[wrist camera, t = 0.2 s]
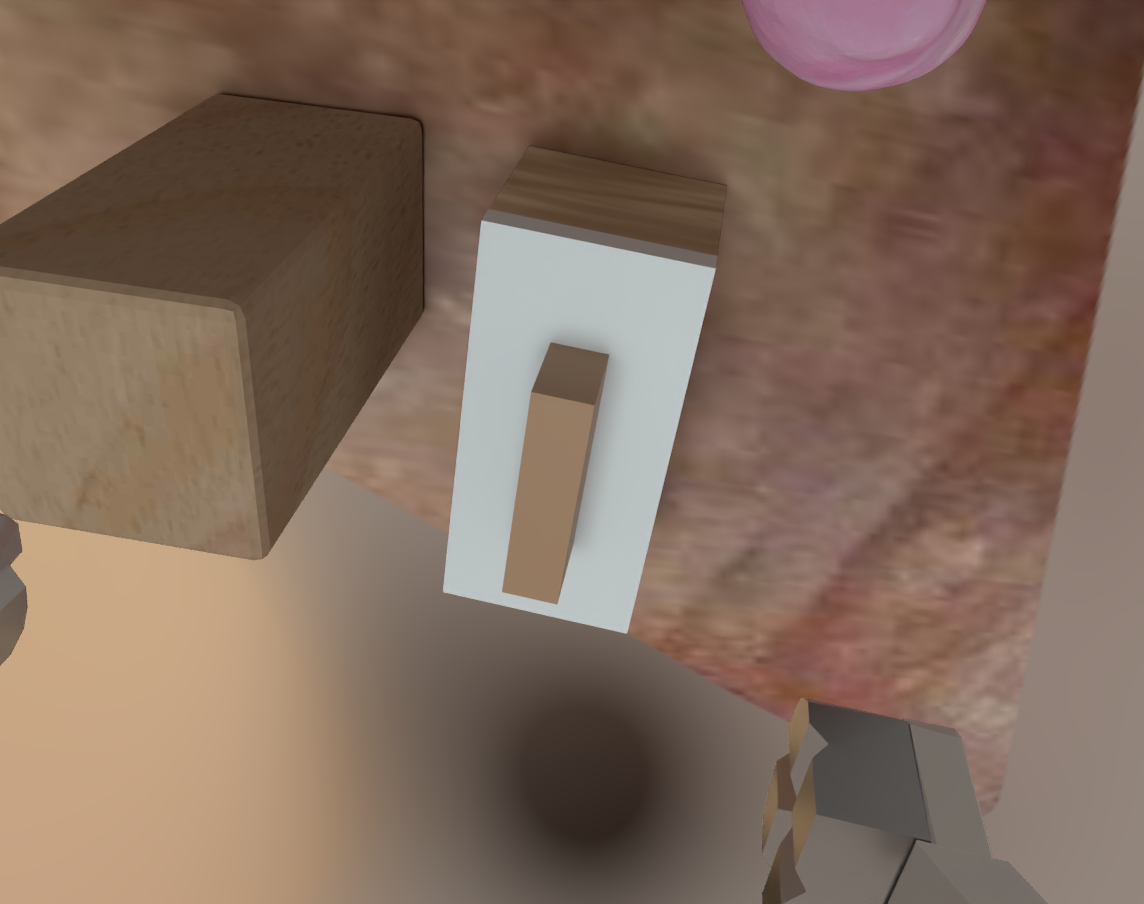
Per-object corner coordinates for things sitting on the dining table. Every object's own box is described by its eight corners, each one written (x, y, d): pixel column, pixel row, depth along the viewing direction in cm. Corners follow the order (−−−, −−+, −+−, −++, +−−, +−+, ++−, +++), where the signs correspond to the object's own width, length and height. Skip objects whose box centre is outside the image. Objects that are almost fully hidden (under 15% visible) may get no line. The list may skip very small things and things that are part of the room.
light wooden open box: (529, 145, 48) (488, 208, 41) (726, 185, 47) (717, 255, 41) (487, 482, 58) (449, 575, 52) (647, 518, 58) (629, 616, 51)
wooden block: (425, 116, 48) (236, 309, 31) (425, 316, 53) (265, 568, 37) (213, 89, 49) (-78, 262, 32) (235, 288, 54) (-3, 522, 38)
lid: (494, 200, 42) (454, 262, 37) (718, 246, 41) (709, 315, 36) (454, 563, 53) (419, 650, 48) (632, 603, 52) (616, 695, 47)
